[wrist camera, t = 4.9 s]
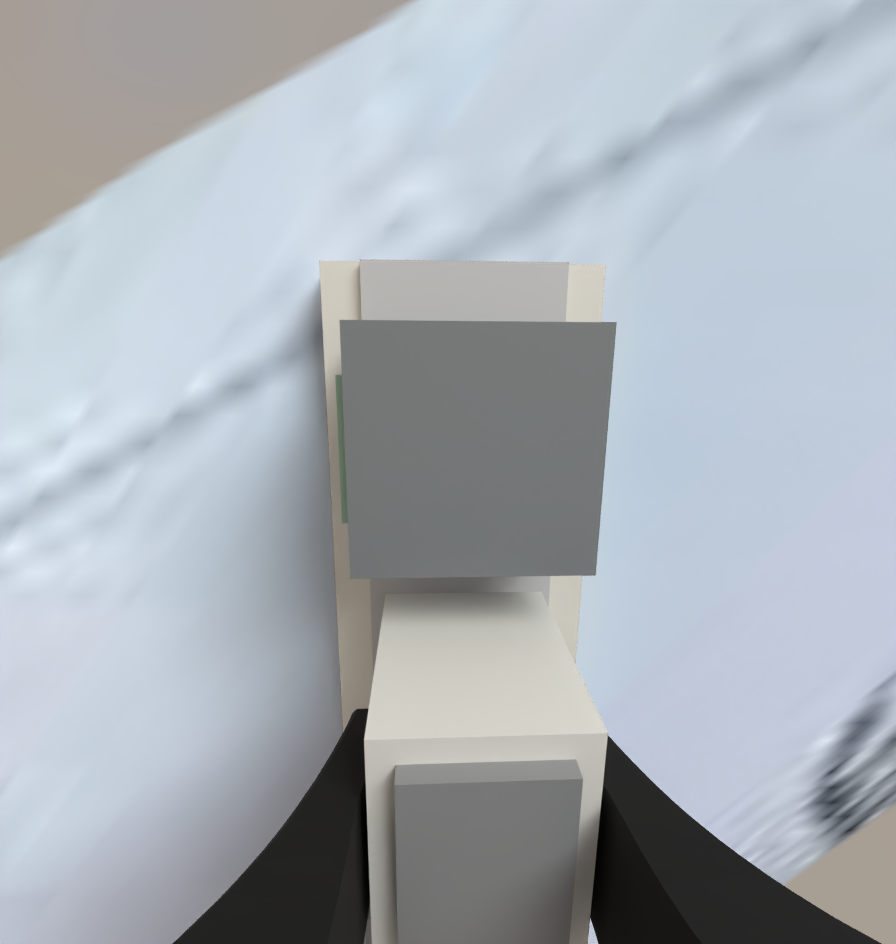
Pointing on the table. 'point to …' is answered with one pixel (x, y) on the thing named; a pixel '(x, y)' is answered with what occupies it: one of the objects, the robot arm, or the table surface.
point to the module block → (480, 774)
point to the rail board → (461, 437)
